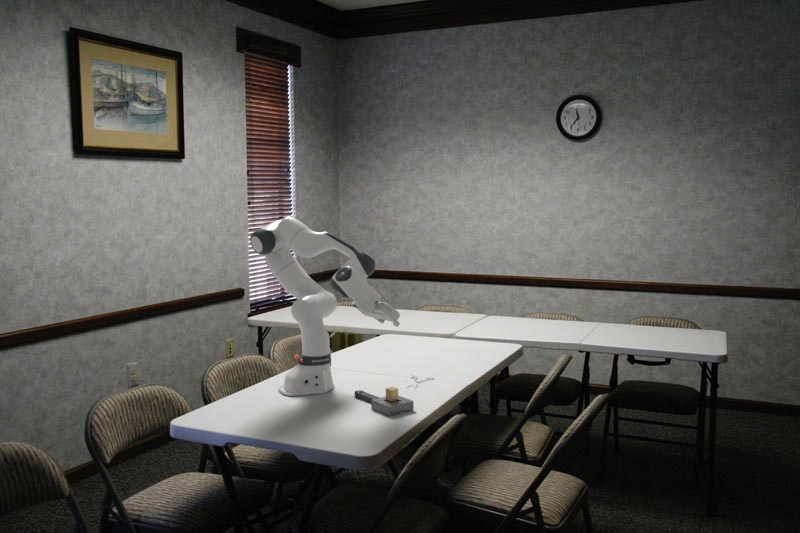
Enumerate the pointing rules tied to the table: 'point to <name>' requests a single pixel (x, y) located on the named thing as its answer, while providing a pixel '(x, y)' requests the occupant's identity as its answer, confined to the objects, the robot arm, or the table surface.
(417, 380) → the scissors
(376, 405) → the grey handled square frame
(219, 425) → the table surface
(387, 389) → the bar
